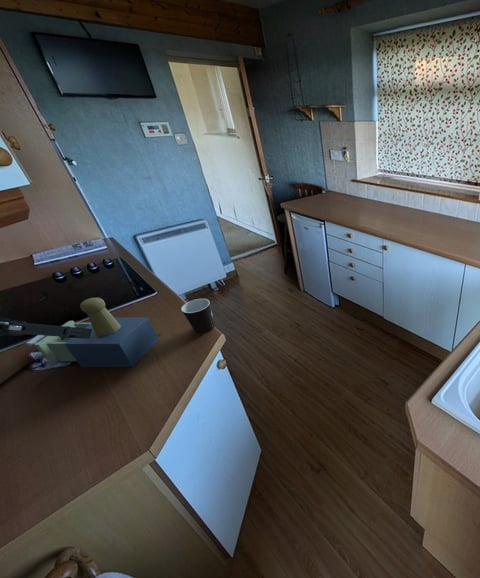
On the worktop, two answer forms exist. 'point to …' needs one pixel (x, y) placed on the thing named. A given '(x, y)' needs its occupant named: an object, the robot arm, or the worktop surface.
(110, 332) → the cork
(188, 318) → the coffee mug
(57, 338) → the drawer
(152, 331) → the block
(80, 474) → the worktop surface
